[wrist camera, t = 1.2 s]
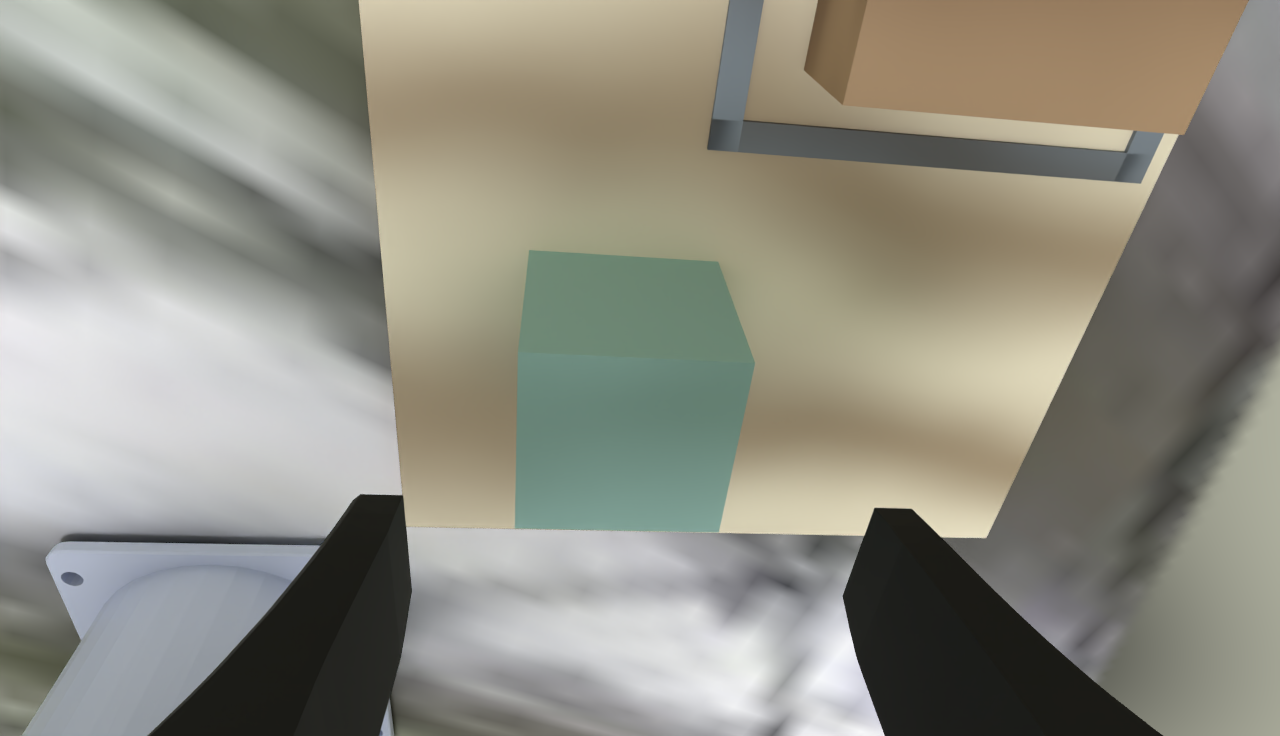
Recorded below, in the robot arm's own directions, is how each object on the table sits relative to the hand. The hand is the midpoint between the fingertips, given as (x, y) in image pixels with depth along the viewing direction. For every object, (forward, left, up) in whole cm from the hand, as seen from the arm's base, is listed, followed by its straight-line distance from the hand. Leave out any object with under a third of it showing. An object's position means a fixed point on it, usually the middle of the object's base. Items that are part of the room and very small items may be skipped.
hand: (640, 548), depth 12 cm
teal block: (0, 0, -6) cm, 6 cm away
